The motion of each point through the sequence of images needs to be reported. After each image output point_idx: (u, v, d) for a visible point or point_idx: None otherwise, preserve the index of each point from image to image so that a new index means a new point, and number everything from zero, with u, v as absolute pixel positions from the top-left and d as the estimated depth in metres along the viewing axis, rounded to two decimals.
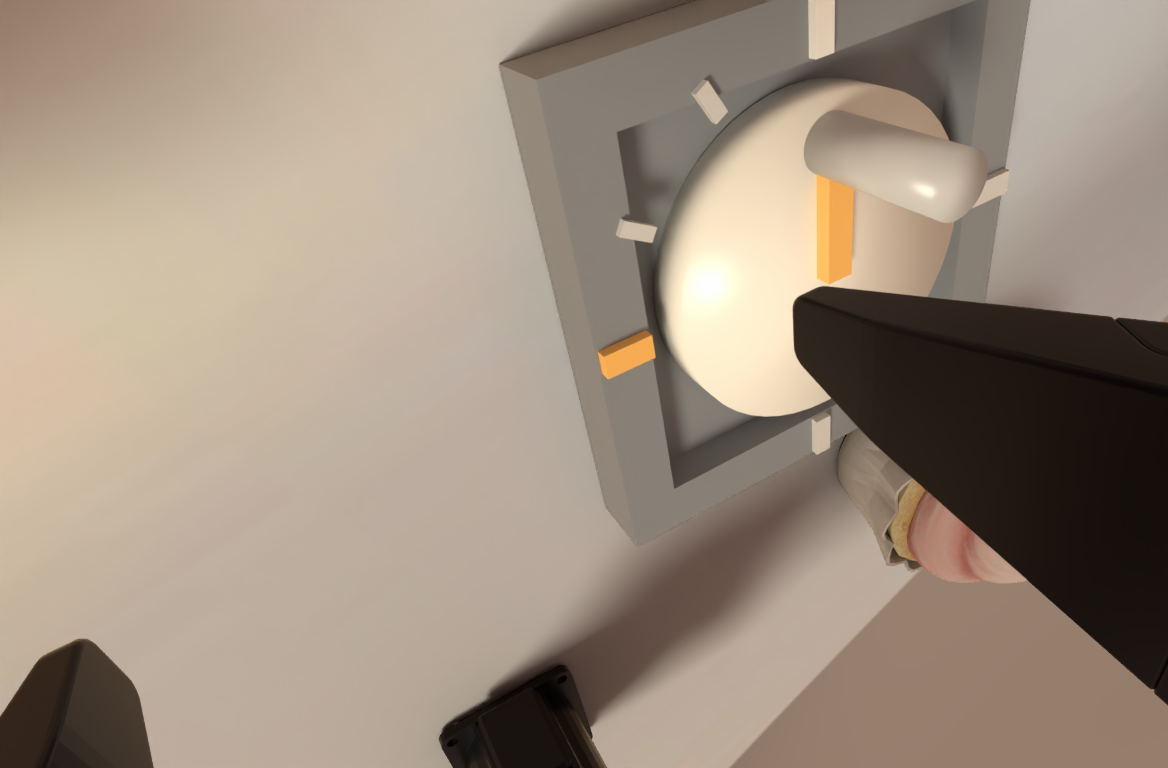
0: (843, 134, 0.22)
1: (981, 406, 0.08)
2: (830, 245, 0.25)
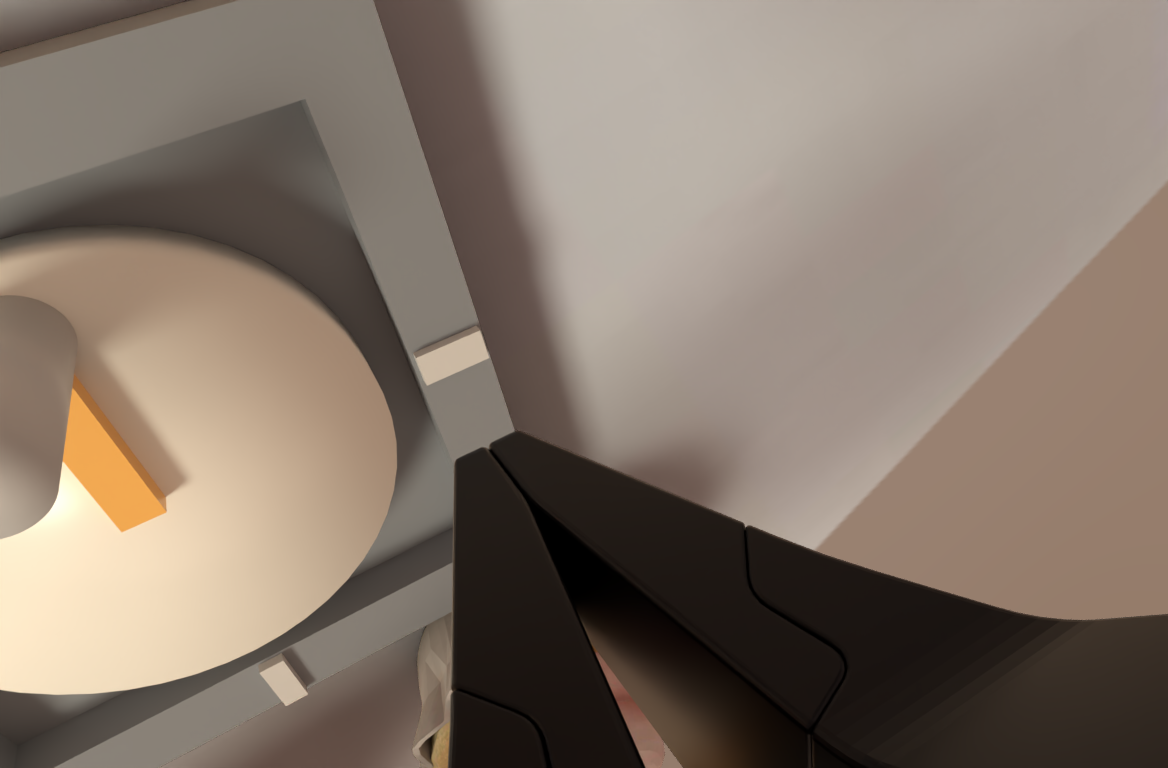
0: None
1: (617, 612, 0.07)
2: (86, 485, 0.16)
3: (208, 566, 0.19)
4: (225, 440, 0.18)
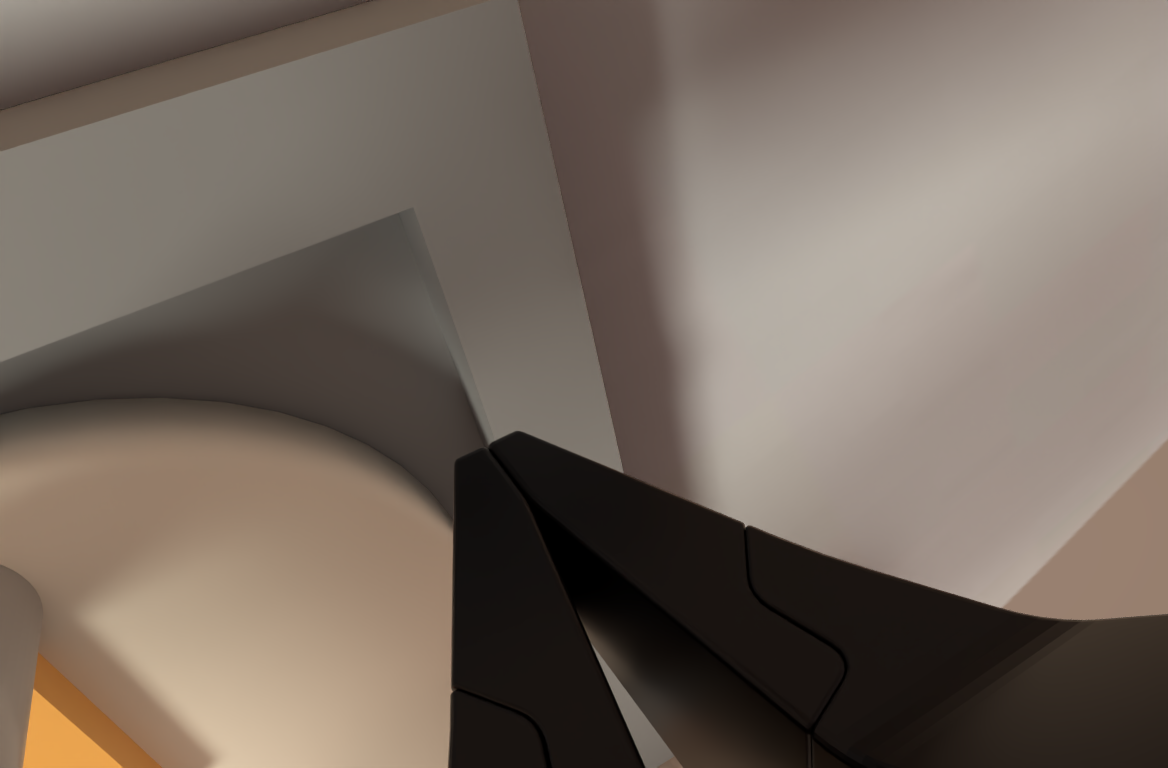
0: None
1: (617, 613, 0.07)
2: None
3: None
4: (272, 701, 0.12)
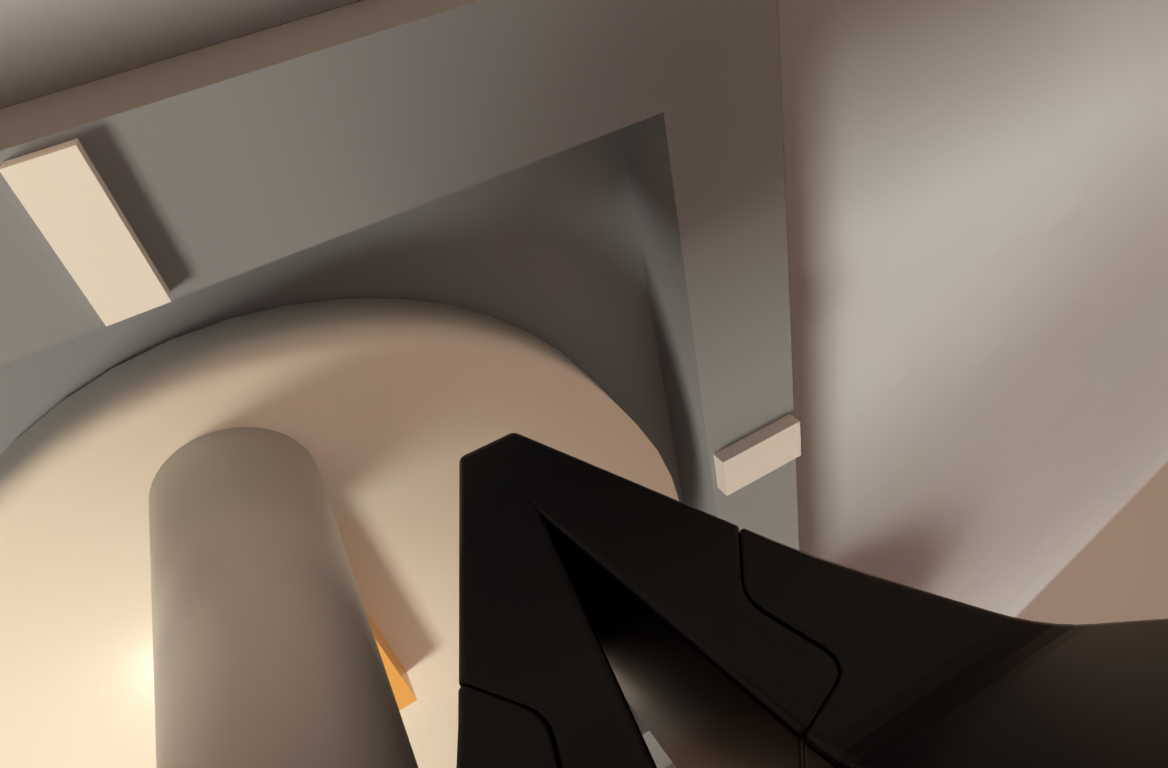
0: (158, 544, 0.08)
1: (612, 616, 0.07)
2: None
3: (445, 747, 0.14)
4: None
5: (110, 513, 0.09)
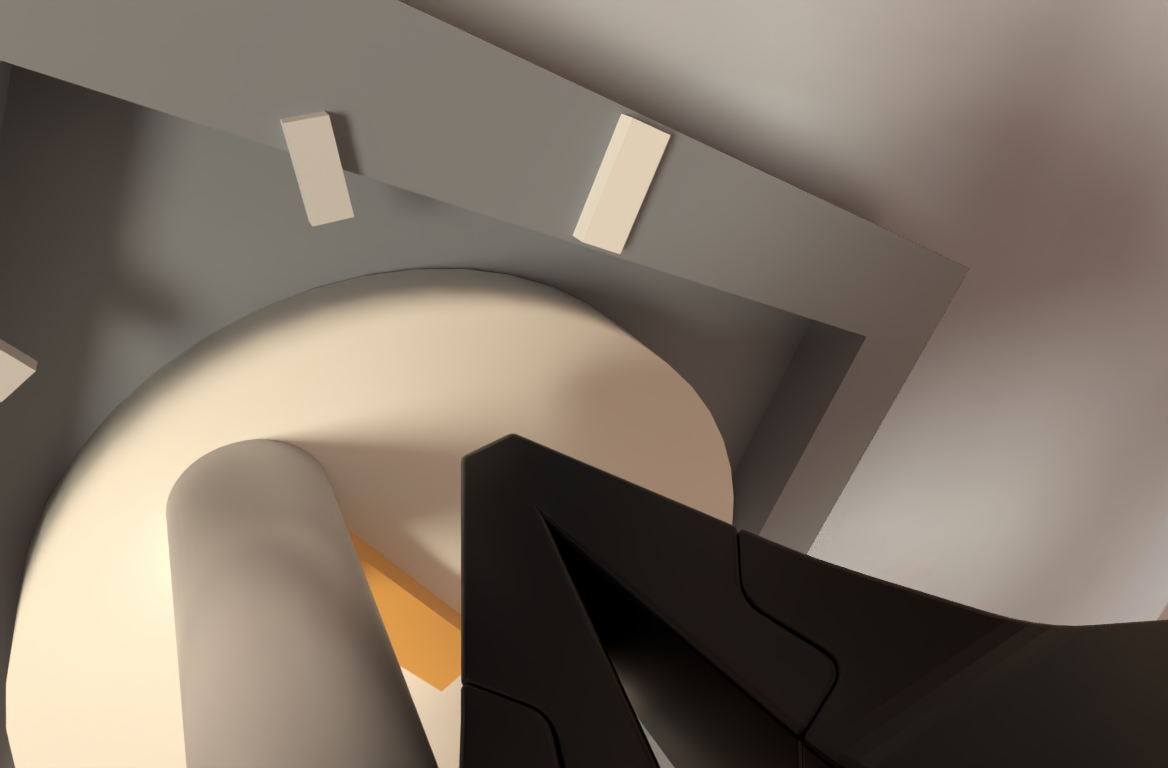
0: (172, 573, 0.09)
1: (611, 616, 0.07)
2: None
3: None
4: None
5: (138, 549, 0.10)
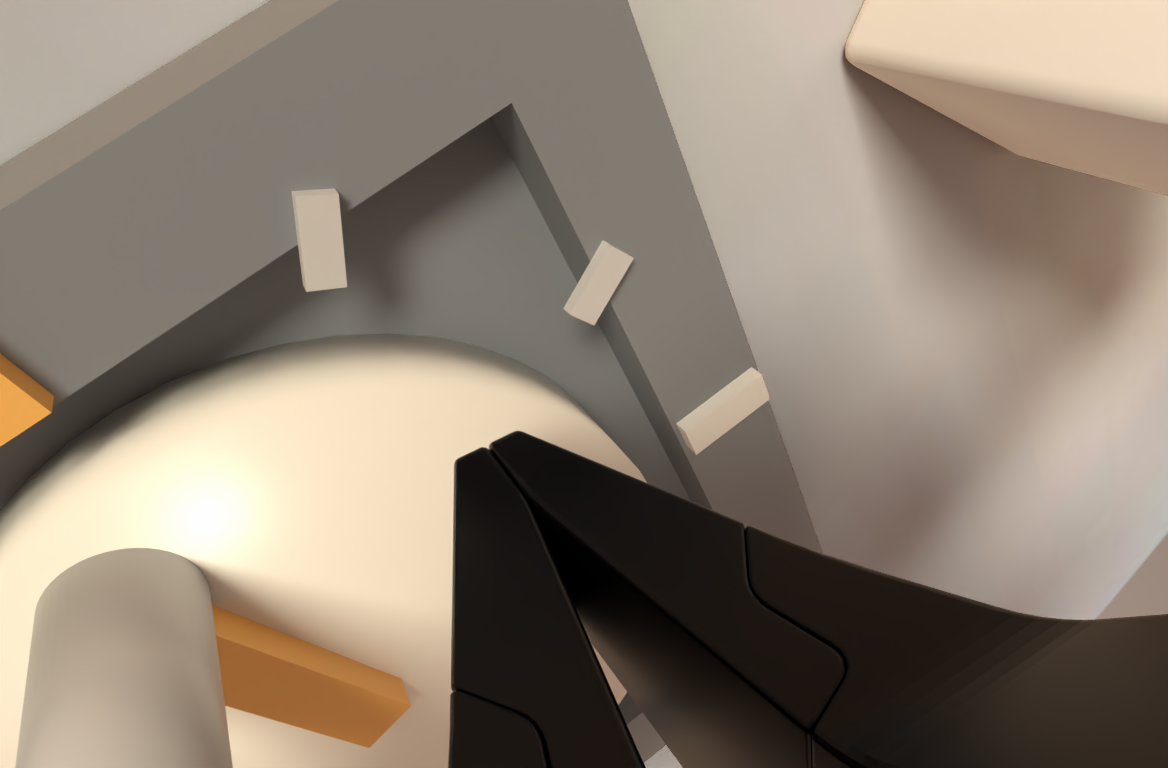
0: None
1: (617, 612, 0.07)
2: (302, 724, 0.12)
3: None
4: (443, 590, 0.13)
5: (16, 664, 0.10)
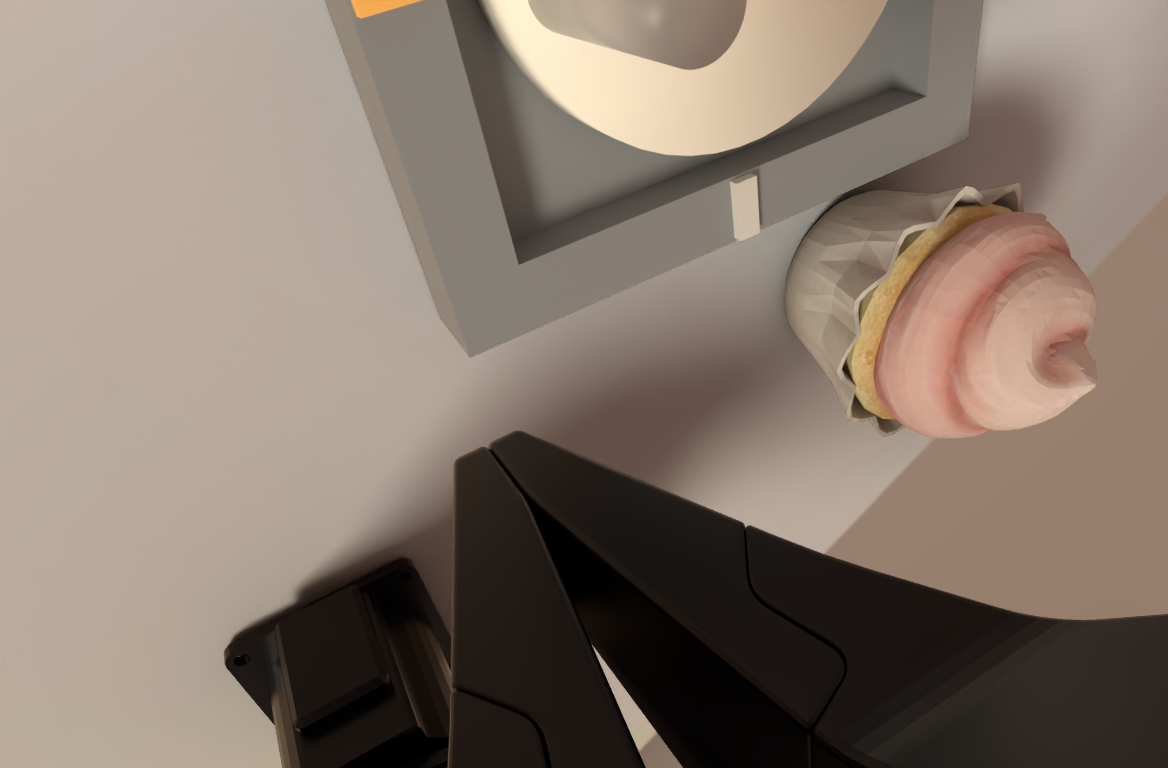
0: (576, 38, 0.16)
1: (617, 613, 0.07)
2: None
3: None
4: None
5: (569, 54, 0.17)
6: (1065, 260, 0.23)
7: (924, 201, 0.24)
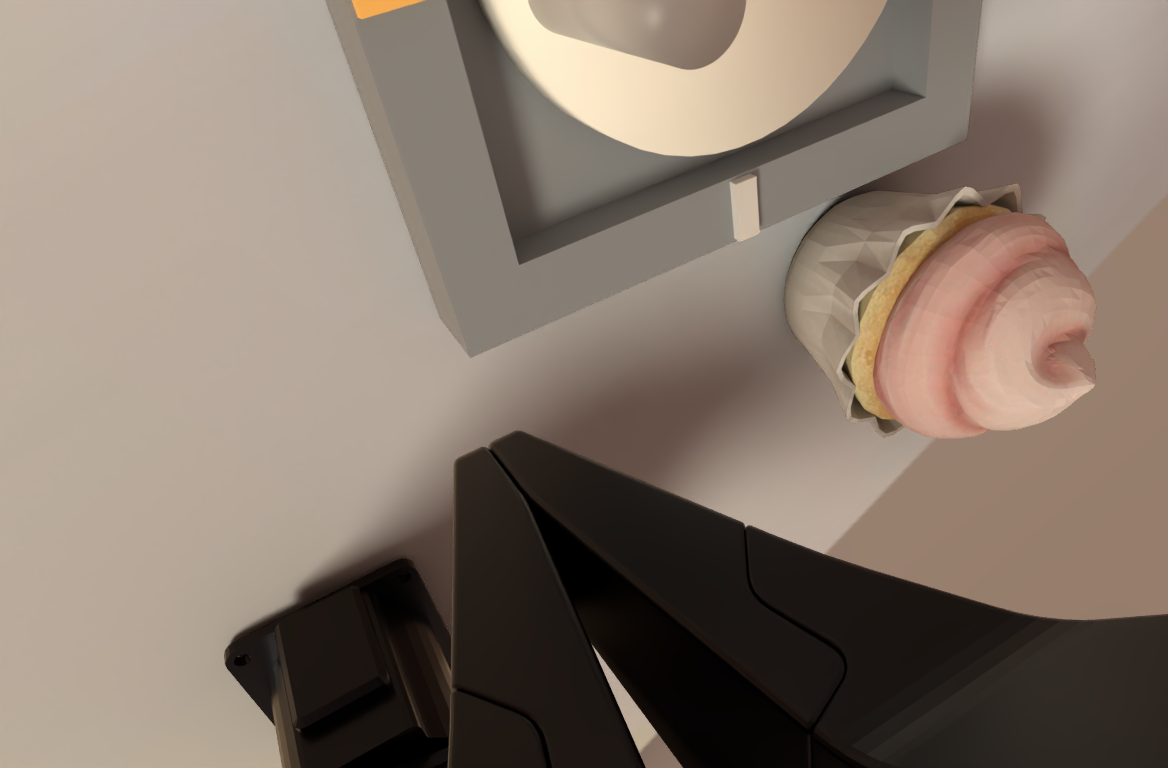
0: (576, 38, 0.16)
1: (617, 612, 0.07)
2: None
3: None
4: None
5: (569, 54, 0.17)
6: (1064, 260, 0.23)
7: (923, 202, 0.24)
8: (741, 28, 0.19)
